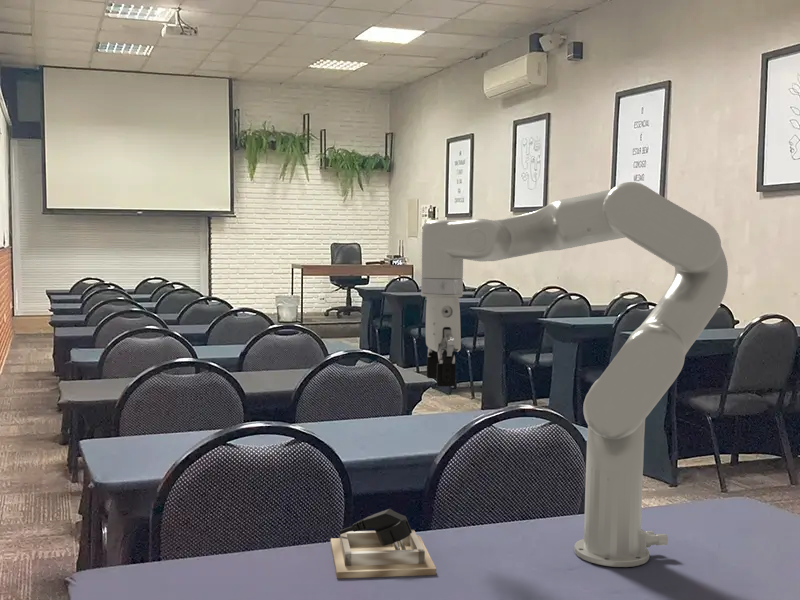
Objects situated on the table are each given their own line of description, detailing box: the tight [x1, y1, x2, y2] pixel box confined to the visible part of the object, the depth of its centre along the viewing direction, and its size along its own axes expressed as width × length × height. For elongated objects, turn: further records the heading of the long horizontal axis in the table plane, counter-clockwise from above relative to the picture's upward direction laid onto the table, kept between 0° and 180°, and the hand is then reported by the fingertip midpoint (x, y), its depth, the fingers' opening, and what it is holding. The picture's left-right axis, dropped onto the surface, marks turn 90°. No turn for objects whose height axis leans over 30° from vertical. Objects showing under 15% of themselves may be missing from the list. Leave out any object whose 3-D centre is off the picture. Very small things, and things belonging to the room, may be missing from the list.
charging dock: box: [330, 529, 437, 579], centre depth 143 cm, size 16×16×3 cm
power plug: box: [338, 508, 412, 550], centre depth 144 cm, size 6×8×12 cm
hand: (440, 381), depth 155 cm, fingers open, 9 cm apart
